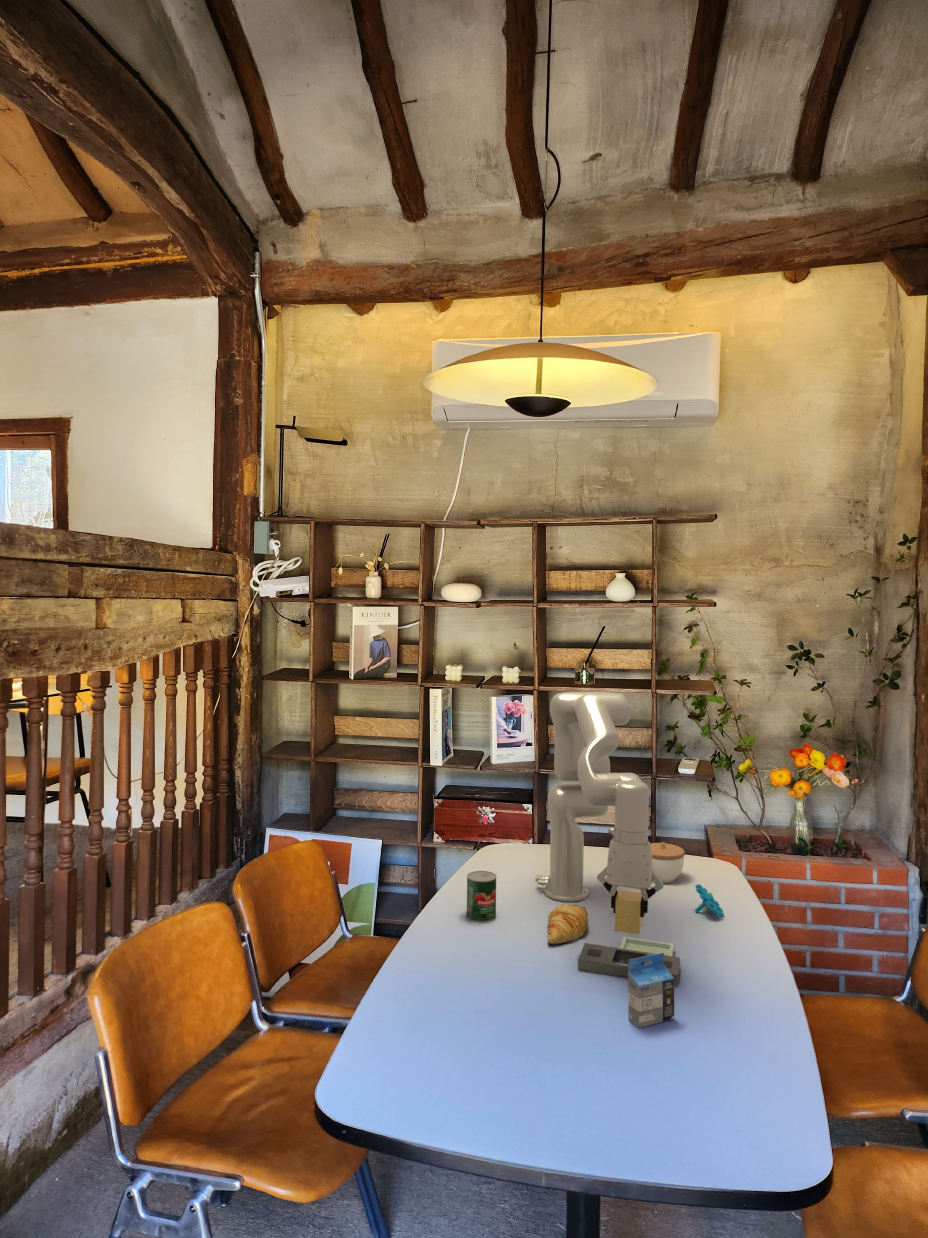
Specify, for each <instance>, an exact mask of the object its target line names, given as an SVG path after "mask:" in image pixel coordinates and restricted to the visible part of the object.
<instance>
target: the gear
mask: <svg viewBox="0 0 928 1238" xmlns="http://www.w3.org/2000/svg"><path fill="white" fill-rule="evenodd" d="M694 887H695V890H696V892H697V893H698V894H699V898H700V899H701V900H702V901H701V903H700V904H698V906H697V907H696V908H695V909H694V912H695V913H697V914H698V913H699V912H701V911H702V910H703V909H704V908H706V907H710V908H711V909H710V910H711V912H712V913H713V914H716V915H717V917H719V918H721V916H722V917H724V915H725V914H724V913H723V912H724V910H723V908H721V907H720V904H719V902H718V901H717V900H715V897H714V896H713V893H712V892H709V891H708V890H707V889H706V887H703V885H701V884H700V883H699V884H698V883H697V884H696V885H695V886H694Z"/></svg>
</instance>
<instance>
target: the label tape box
mask: <svg viewBox="0 0 928 1238" xmlns="http://www.w3.org/2000/svg"><path fill="white" fill-rule="evenodd" d="M646 960H648V961H652V963H650V964H646V965H644V964H641V963H642V962H645V961H646ZM663 960H664V953H659V954H654V955H649V956H644V957H640V958H635V959H630V960H629V962H628V965H629V971H628V978H627V983H628V984H627V989H628V991H627V996H628V999H627V1002H628V1003H627V1004H628V1021H630V1022H631V1023H632V1024H633V1025H635V1026H636V1027H637V1028H639V1029H641V1028H644V1027H648V1026H652V1025H656V1024H659V1023H664V1022H668V1021H672V1020H675V986H674V978H673V976H672V975H671V974H670V972H669V971H668V969H667V968H666V967H665V965H664V964H663Z"/></svg>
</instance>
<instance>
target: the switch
mask: <svg viewBox="0 0 928 1238" xmlns="http://www.w3.org/2000/svg"><path fill="white" fill-rule="evenodd" d="M649 955H654V953H647V952H641V951H634V950H628V949H621V948H620V947H614V946H608V945H600V944H595V943H590V942H589V943H588V942H585V943H584V945H583V946H582V949H581V951H580V953H579V956H578V959H577V971H583V972H588V973H589V972H590V973H594V974H601V975H606V976H613V977H619V978H624V979H625V978H626V979H628V971H629V964H624V963H619V962H618V963H617V962H616V961H620V962H626V963H629V960H630V959H635V958H640V957H644V956H649ZM650 963H652V961H648V960H646V961H645V962H642V963H641V964H640V965H646V964H650ZM663 964H664V965H665V967H666V968H667V969H668V971H669V972H670V974H671V975H672V976H673V978H674V987H678V985H679V984H678V982H679V976H680V972H681V971H680V969H681V957H679V956H674V955H673V956H667V955H664V960H663Z"/></svg>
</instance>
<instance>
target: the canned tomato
mask: <svg viewBox="0 0 928 1238" xmlns="http://www.w3.org/2000/svg"><path fill="white" fill-rule="evenodd" d="M466 880H467V881H466V919H467V920H468V921H471V922H473V923H478V924H479V923H480V924H481V923H482V924H483V923H489V922H493V921H494V920H496V919H497V915H496V914H497V875H496V873H494V872H493V871H487V870H474V871H471V872H469V873H467V875H466Z"/></svg>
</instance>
